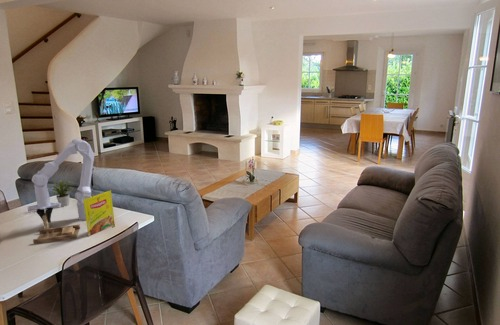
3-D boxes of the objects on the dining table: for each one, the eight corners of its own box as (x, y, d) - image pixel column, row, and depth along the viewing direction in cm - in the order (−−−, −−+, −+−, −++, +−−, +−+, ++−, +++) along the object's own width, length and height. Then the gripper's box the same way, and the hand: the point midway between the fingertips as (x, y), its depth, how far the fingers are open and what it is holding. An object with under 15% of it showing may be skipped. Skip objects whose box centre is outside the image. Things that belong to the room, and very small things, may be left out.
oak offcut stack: (75, 230, 177) (74, 225, 177) (72, 237, 170) (71, 232, 169) (63, 231, 176) (63, 227, 175) (60, 238, 168) (59, 234, 168)
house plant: (64, 211, 204) (60, 184, 200) (44, 209, 207) (40, 183, 203) (81, 202, 217) (78, 177, 213) (62, 200, 220) (58, 175, 216)
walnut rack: (80, 229, 180) (79, 224, 179) (76, 240, 169) (75, 234, 168) (41, 234, 175) (39, 229, 174) (34, 246, 164) (33, 240, 163)
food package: (89, 238, 171) (83, 199, 165) (88, 238, 171) (82, 199, 166) (115, 226, 183) (111, 190, 178) (114, 226, 184) (109, 189, 179)
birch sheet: (51, 225, 185) (49, 210, 182) (48, 230, 178) (45, 216, 176) (48, 225, 184) (45, 211, 182) (44, 231, 178) (42, 216, 176)
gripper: (23, 201, 171) (28, 227, 174) (56, 198, 175) (61, 223, 178) (28, 196, 177) (32, 221, 181) (60, 193, 181) (63, 217, 185)
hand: (47, 222), depth 180 cm, fingers closed on birch sheet
